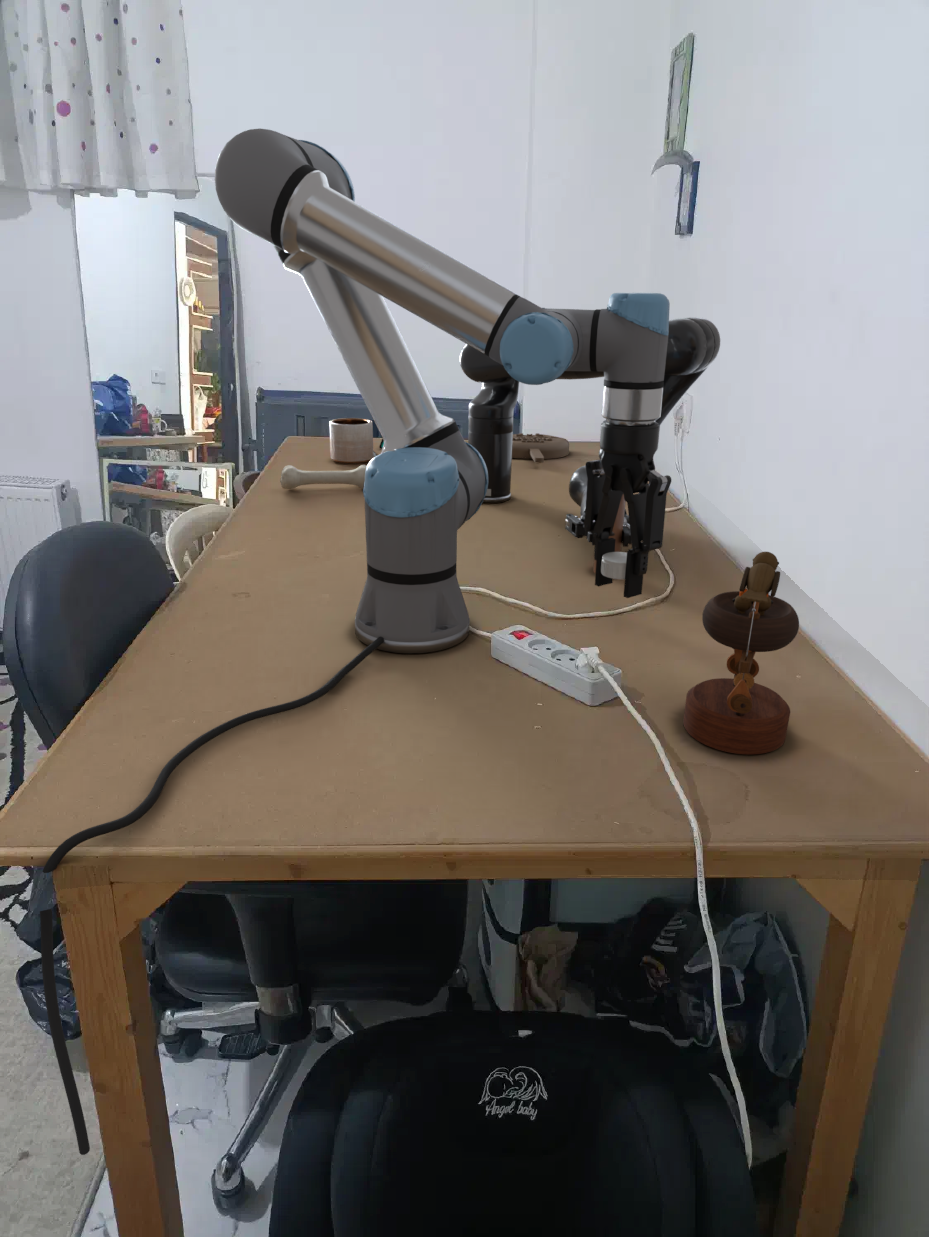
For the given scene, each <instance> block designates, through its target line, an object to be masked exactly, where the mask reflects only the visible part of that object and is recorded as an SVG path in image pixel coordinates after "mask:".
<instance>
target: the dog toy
mask: <svg viewBox="0 0 929 1237" xmlns="http://www.w3.org/2000/svg"><path fill="white" fill-rule="evenodd" d="M367 465H368V464H367ZM367 465H366V464H361V465H360V466H358V467H357V468H354V469H349V470H303V469H299V468H297V467H296V466H294V465H292V464H288V465H285V466H284V467H283V468H282V470H281V472H280V479H279V483H280V487H281V488H282V489H284V490H285V489H286V490H292V489H295V488H298V487H300V486H306V485H307V486H308V485H349V486H350V485H352V486H356V487H358V488H361V489H363V488H364V482H365V471H366V467H367Z"/></svg>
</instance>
